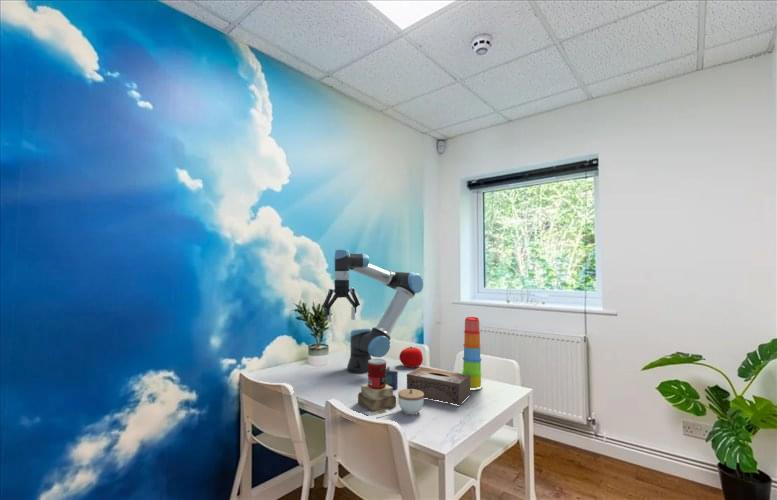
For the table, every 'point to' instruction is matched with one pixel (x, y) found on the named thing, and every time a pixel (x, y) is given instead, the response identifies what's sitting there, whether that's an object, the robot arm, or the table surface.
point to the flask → (392, 378)
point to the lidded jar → (411, 400)
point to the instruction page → (379, 413)
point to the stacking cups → (472, 352)
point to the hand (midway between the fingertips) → (341, 320)
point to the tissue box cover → (440, 384)
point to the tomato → (411, 357)
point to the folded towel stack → (376, 398)
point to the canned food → (377, 373)
